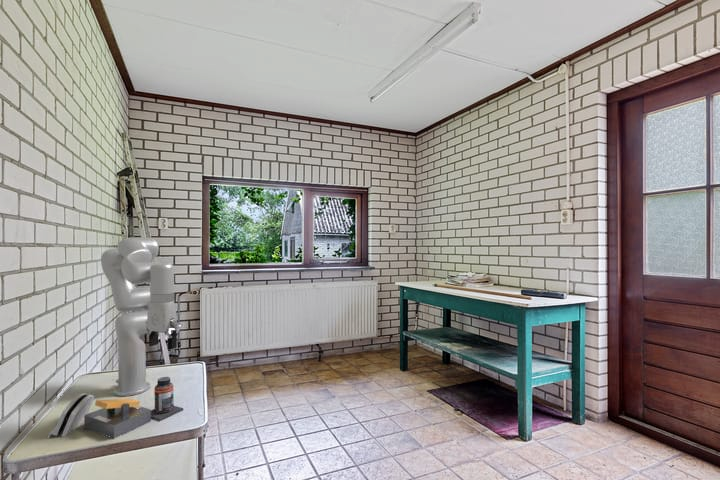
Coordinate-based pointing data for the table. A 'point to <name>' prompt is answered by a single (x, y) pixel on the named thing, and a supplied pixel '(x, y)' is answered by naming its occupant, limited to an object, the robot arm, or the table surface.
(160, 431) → the table surface
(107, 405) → the rocker
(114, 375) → the table surface
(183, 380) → the table surface
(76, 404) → the grey curved arch
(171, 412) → the rubber mat
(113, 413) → the grey seesaw base
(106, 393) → the table surface
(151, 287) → the robot arm
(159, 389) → the supplement bottle
